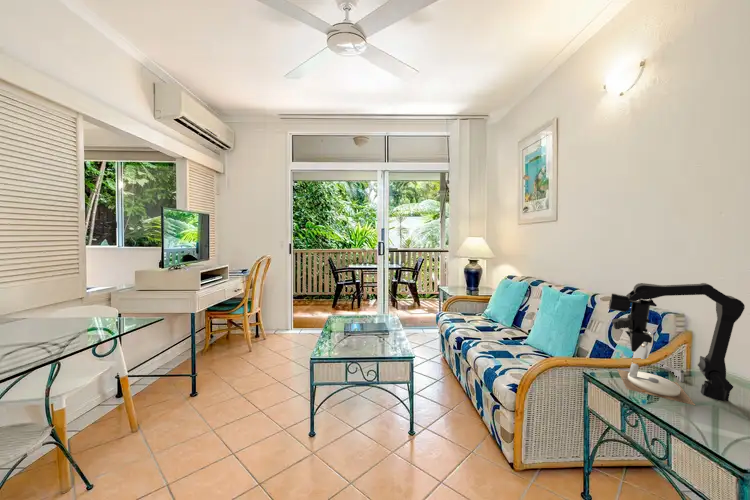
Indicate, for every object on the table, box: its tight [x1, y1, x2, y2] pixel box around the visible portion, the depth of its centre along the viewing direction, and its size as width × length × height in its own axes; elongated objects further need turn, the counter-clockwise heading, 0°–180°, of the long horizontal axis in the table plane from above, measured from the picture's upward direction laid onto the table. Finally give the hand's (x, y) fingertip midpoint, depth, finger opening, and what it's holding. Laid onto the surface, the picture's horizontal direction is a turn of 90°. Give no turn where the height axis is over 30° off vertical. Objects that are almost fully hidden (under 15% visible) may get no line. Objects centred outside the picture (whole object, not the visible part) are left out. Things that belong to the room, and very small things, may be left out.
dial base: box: [617, 369, 696, 406], centre depth 132 cm, size 20×19×2 cm
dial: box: [628, 362, 682, 396], centre depth 131 cm, size 16×16×7 cm
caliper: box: [662, 364, 685, 383], centre depth 146 cm, size 20×1×6 cm, turn 156°
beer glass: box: [632, 331, 654, 359], centre depth 155 cm, size 7×7×15 cm
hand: (633, 351), depth 138 cm, fingers closed
